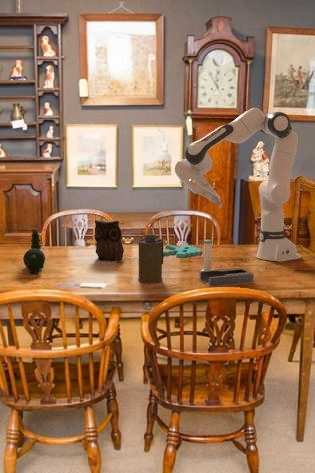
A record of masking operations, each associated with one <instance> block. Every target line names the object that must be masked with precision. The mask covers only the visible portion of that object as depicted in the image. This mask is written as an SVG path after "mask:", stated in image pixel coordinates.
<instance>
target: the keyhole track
mask: <svg viewBox="0 0 315 473" xmlns="http://www.w3.org/2000/svg"><path fill="white" fill-rule="evenodd" d="M198 280H199V281H201V282H202V283H203V284H205V285H206V286H208V287H209V288H210V287H212V288H218V287H217V286H222V287H229V286H239V285H240V286H241V285H247V284H248V285H249V284H254V283H255V282H254V273H253V272H250V271H249V270H247V269H245V268H244V267H241V266H239V267H233V268H232V267H231V268H221V269H212V270H207V271H201V270H200V271H199V279H198Z"/></svg>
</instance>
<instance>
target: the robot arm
mask: <svg viewBox="0 0 315 473" xmlns="http://www.w3.org/2000/svg"><path fill="white" fill-rule="evenodd" d="M291 124H292V123H291V120H290V117H289V116H288V115H287V114H286V113H285V112H282V111H271V112H269V113H264V112H263V111H262V110H261V109H260V108H257V107H252V108H250V109H248V110H246V111H245V112H243V113H242V114H240V115H239V116H238V117H237V118H235V119H234V120H233V121H231V122H229V123H225V124H223V125H221V126H219V127H217V128H216V129H214V130H213V131H211V132H210V133H208V134H207V135H205V136H204V137H203V138H201V139H199V140H196V141H193V142H191V143H190V144H189V145H188V146H187V147H186V149H185V150H184V157H185V158H183V159H179V160H178V161H177V162H176V164H175V165H174V172H175V174H176V176H177V177H178V179H179V180H180V181H181V182H182V183H184V184H185V185H186V186H187V188H188V189H189V190H190V191H191V192H192V193H193V194H194V195H200V196H202V197H204V198H206V199H207V200H208V201H209V202H212V203H214V204H217V206H218V207H222V206H223V203H222V202H221V197H220V195H219V194H218V193H217V192H216V190H215V189H214V188H213V186H212V185H211V183H209V181H208V180H207V178H206V177H205V175H206V174H207V173H209V172H210V171H211V170H212V169H213V165H214V160H213V159H212V158H211V156H210V154H209V151H210V150H211V149H212V148H214V147H215V146H217V145H218V144H220V143H222V142H223V141H228V142H231V143H233V144H242V143H244V142H246V141H247V140H249V139H250V138H251V137H252V136H253V135H254V134H255V133H256V132H258V131H260V132H261V133H263V134H265V135H267V136H273V137H274V144H273V149H272V152H271V156H270V160H269V164H268V169H269V170H268V172H269V173H268V179H265V180H263V181H262V182H261V183H260V184H259V186H258V194H259V203H260V211H261V212H260V213H261V214H260V216H261V217H260V229H259V242H258V249H257V253H256V258H257V259H259V260H260V259H261V260H264V261H274V262H279V263H281V262H287V261H292V260H293V261H294V260H297V259H302V256H301V254H299V253H298V252H297V251H298V250H297V246H296V244H294V243H293V241H291V240H290V239H288V237H287V236H290V235H291V232H290V231H288V230H284V223H285V221H284V220H285V214H284V209H283V204H286V203H287V202H288V201H289V200H290V197H291V189H290V188H291V181H292V180H291V178H292V169H293V166H294V162H295V158H296V154H297V149H298V145H299V144H298V143H299V135H298V133H297V132H295V131H294V130H293V129H292V126H291Z"/></svg>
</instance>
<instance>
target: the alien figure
mask: <svg viewBox="0 0 315 473" xmlns="http://www.w3.org/2000/svg"><path fill="white" fill-rule="evenodd" d="M165 249H168V250H166V251H163V257H164V256H168V255H169V254H170V255H171V256H172V255H173V256H174V255H175V254H176V258H186V257H195V256H200V255H201V253H202V248H198V247H195V246H192V245H189V244H182V245H181V246H180V247H178V246H174V245H173V244H172V245H171V244H170V243H169V244H168V243H167V244H165ZM171 249H172V250H171ZM170 255H169V256H170Z"/></svg>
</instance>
